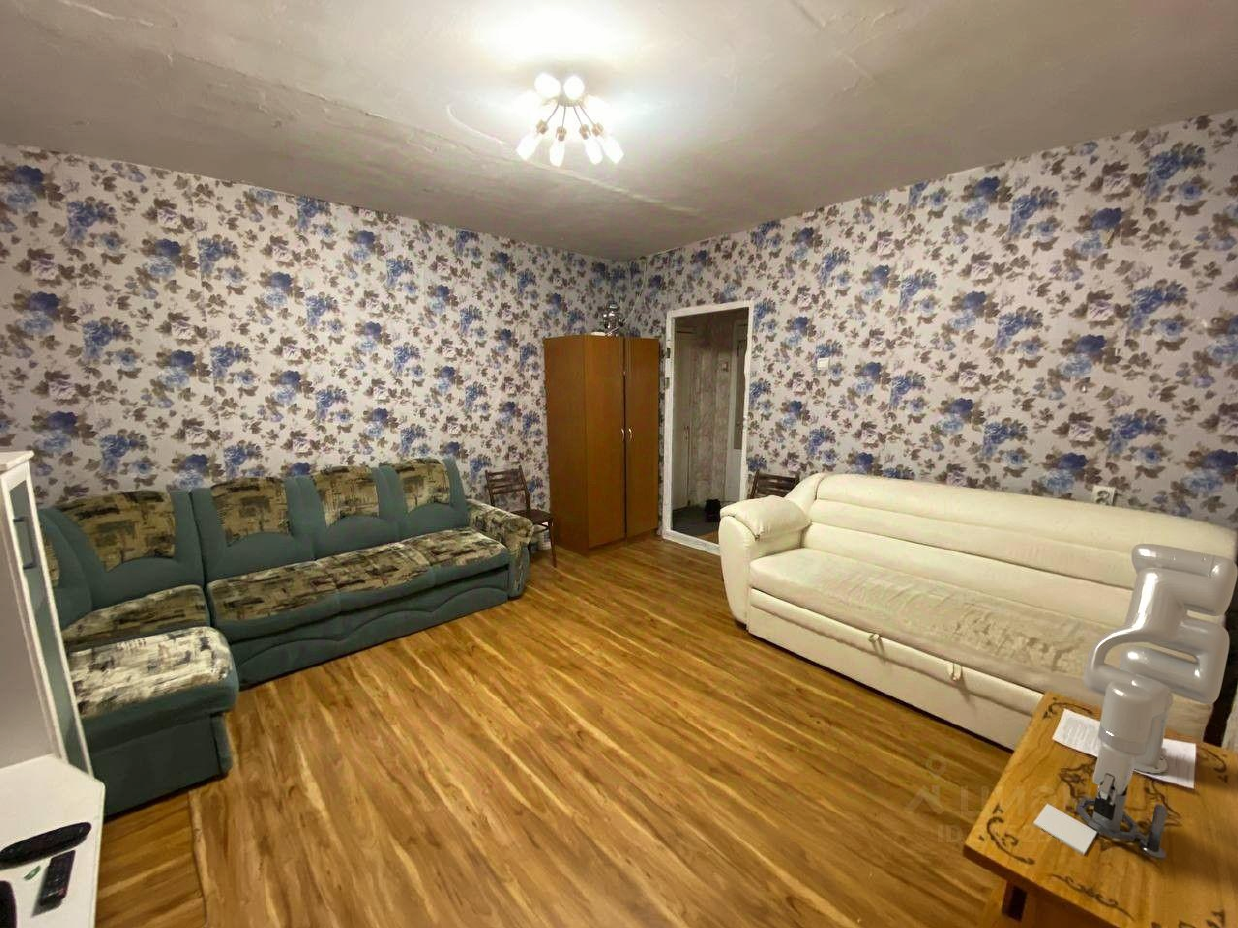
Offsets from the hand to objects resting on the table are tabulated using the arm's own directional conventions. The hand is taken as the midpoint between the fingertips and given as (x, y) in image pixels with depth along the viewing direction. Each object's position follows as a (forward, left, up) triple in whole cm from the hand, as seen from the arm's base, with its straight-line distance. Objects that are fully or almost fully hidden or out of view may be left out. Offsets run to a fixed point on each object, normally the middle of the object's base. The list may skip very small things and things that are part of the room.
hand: (1109, 804), depth 113 cm
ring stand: (-1, +2, -6) cm, 6 cm away
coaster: (+8, -5, -6) cm, 11 cm away
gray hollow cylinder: (-1, 0, -6) cm, 6 cm away
